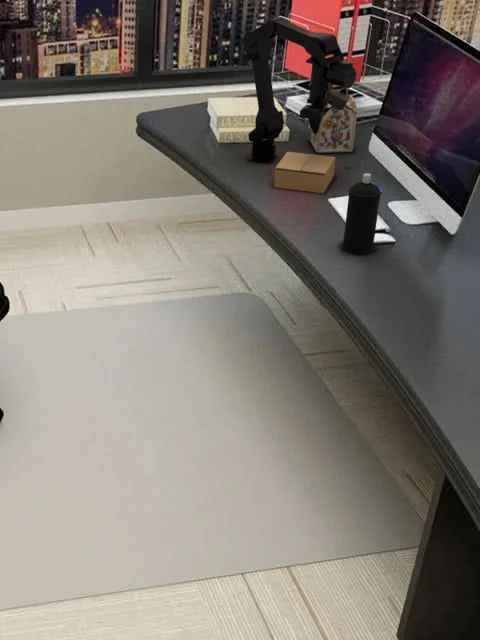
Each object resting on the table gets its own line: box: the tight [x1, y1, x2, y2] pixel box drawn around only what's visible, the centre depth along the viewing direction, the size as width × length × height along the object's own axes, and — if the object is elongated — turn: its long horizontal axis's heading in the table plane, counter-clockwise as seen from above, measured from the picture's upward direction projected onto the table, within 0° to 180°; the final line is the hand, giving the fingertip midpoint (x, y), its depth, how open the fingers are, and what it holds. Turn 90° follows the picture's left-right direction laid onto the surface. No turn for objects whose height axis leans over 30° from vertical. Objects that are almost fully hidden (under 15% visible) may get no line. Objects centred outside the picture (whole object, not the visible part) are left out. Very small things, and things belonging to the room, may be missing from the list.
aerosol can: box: [341, 173, 383, 255], centre depth 255 cm, size 8×8×20 cm
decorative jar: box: [309, 89, 358, 154], centre depth 318 cm, size 12×12×18 cm
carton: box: [273, 154, 336, 194], centre depth 298 cm, size 15×14×6 cm
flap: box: [275, 151, 312, 171], centre depth 298 cm, size 7×14×1 cm, turn 156°
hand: (315, 133), depth 297 cm, fingers closed
